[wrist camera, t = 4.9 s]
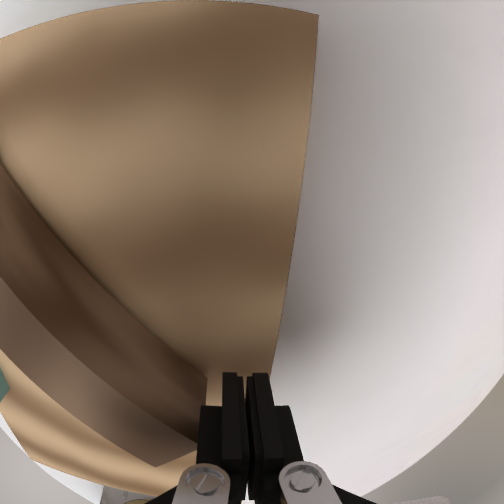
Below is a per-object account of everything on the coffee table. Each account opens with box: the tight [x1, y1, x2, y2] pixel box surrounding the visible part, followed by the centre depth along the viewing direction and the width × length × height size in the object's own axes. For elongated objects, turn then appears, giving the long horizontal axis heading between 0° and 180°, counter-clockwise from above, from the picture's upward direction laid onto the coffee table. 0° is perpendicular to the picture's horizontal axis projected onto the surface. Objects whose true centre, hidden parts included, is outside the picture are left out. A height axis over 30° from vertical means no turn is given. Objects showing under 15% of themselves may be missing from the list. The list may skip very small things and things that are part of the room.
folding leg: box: [0, 163, 208, 468], centre depth 9 cm, size 17×4×4 cm, turn 41°
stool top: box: [0, 0, 319, 502], centre depth 13 cm, size 32×20×2 cm, turn 174°
